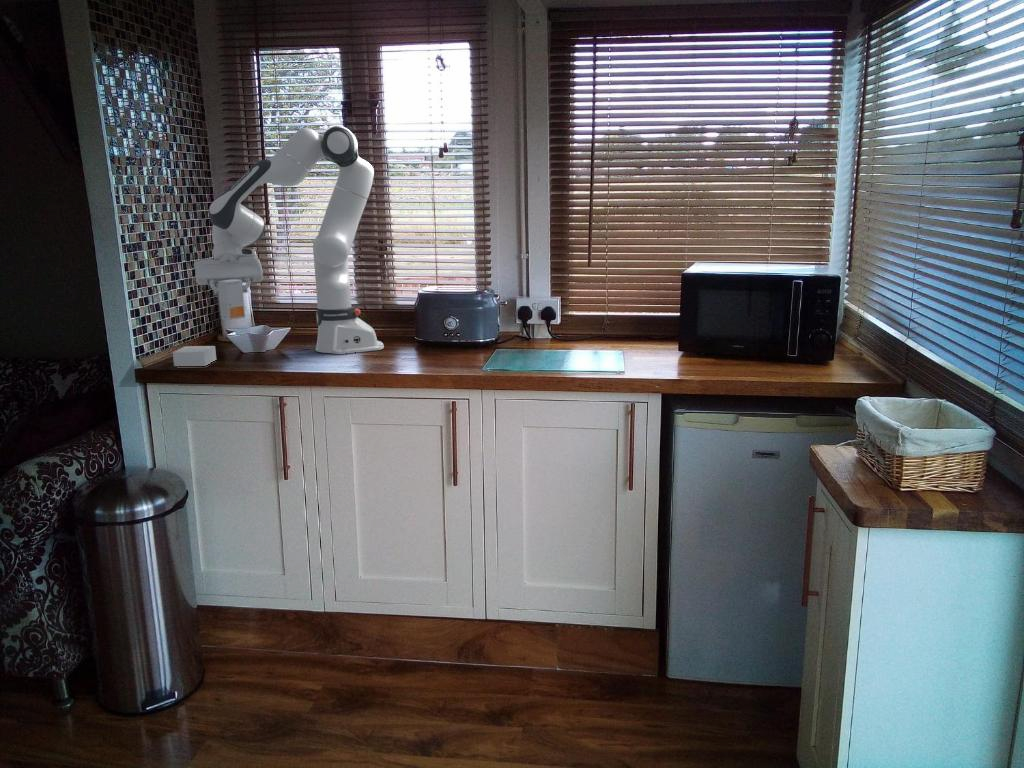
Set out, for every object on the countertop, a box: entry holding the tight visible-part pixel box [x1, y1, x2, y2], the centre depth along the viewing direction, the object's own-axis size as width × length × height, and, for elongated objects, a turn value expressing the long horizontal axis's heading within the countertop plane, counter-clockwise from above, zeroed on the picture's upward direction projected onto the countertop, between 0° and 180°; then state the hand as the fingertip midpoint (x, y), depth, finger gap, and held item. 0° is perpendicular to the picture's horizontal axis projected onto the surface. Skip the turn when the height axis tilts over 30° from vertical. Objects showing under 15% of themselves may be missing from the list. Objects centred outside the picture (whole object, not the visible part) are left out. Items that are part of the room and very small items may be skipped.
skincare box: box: [217, 279, 246, 321], centre depth 259 cm, size 6×4×12 cm
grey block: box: [172, 345, 217, 367], centre depth 260 cm, size 10×10×5 cm
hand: (231, 292), depth 258 cm, fingers closed on skincare box, 7 cm apart
